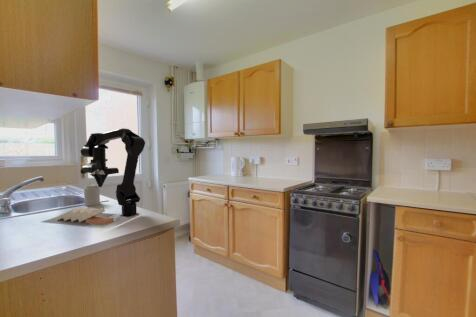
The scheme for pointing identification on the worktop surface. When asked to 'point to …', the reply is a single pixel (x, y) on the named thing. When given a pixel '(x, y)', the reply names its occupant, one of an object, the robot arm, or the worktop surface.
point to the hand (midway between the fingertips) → (100, 187)
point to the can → (91, 195)
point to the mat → (76, 223)
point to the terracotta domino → (99, 220)
